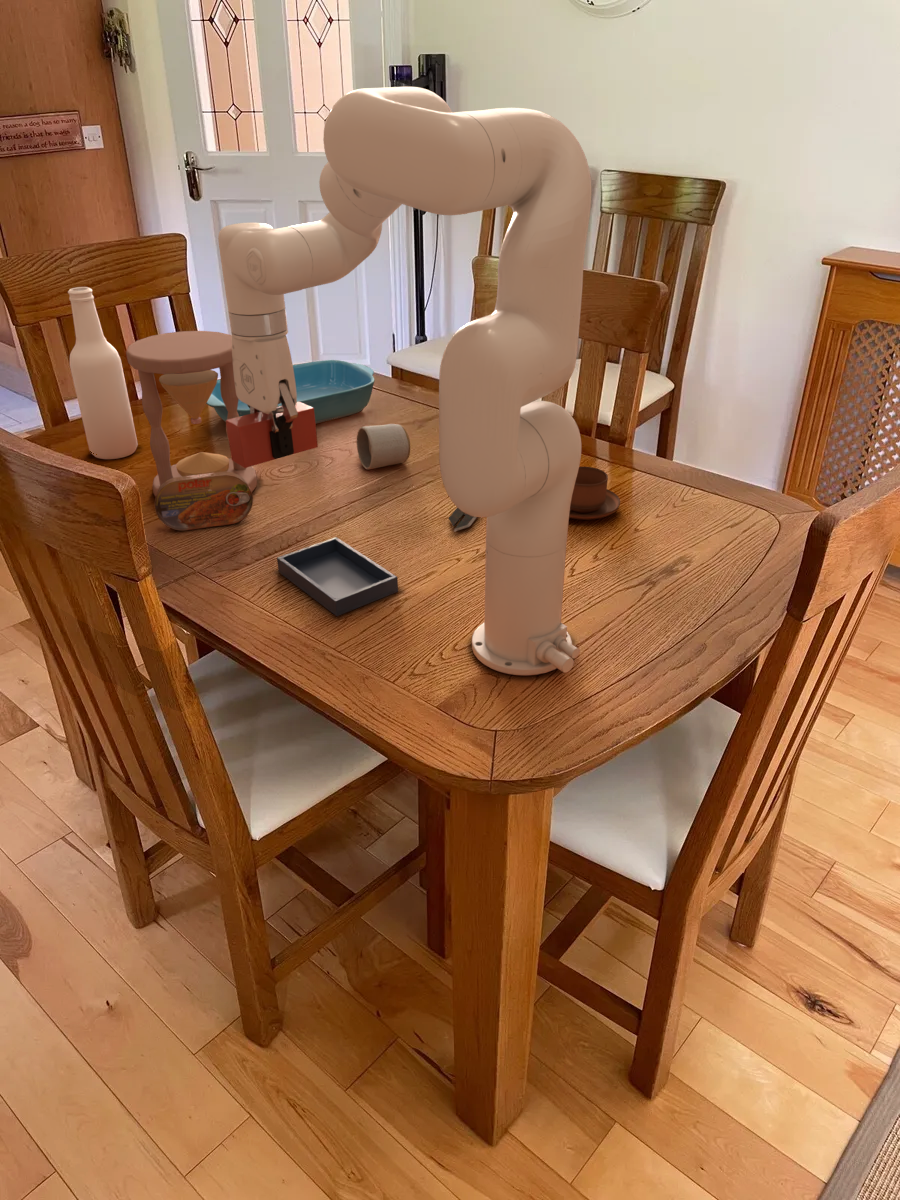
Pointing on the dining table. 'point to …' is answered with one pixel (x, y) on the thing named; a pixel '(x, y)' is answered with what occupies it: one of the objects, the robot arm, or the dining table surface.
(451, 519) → the knife
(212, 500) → the tin
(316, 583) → the tray
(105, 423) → the alcohol
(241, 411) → the casserole dish
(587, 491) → the cup and saucer
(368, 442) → the ceramic mug
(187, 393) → the hourglass
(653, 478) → the dining table surface
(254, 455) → the bar
